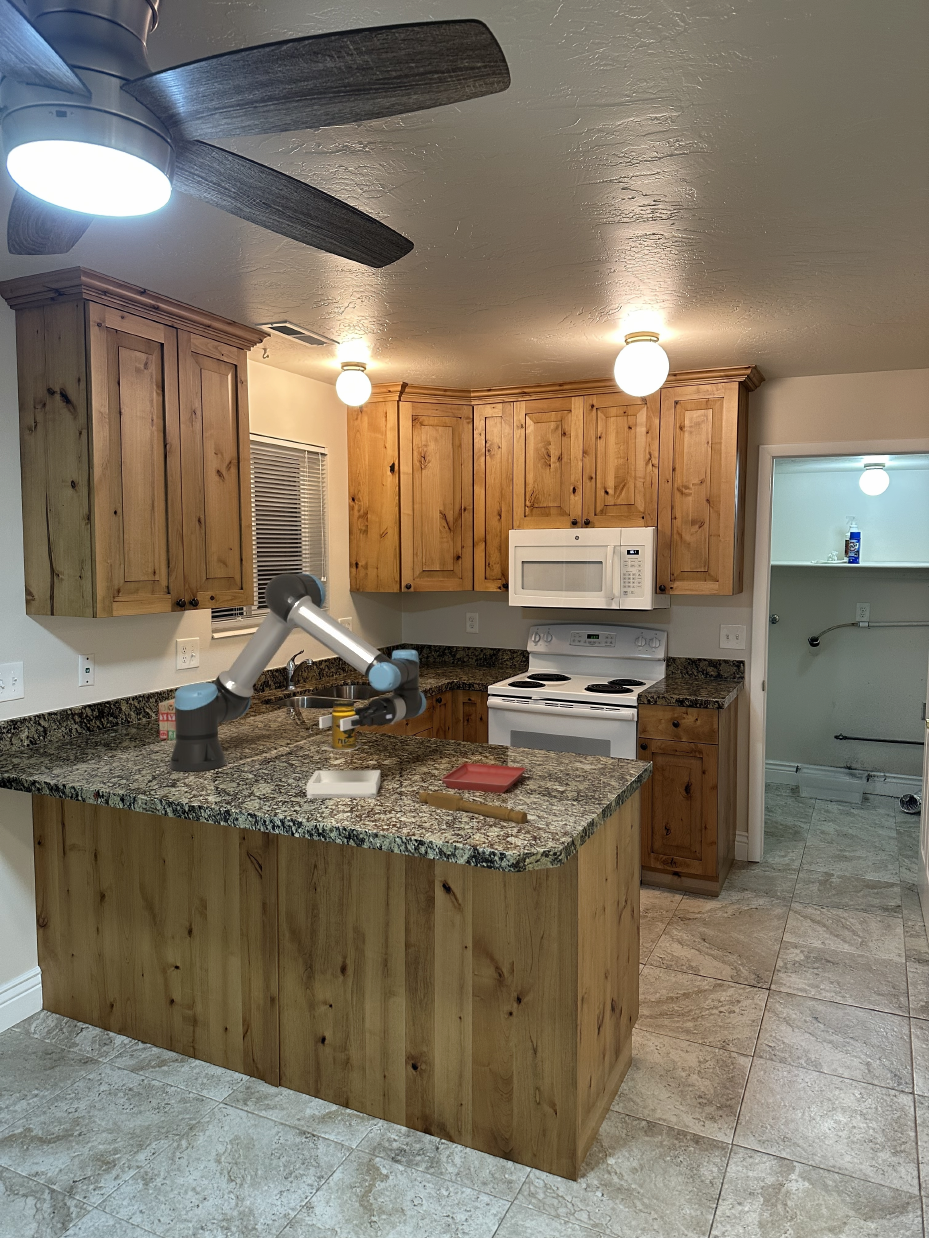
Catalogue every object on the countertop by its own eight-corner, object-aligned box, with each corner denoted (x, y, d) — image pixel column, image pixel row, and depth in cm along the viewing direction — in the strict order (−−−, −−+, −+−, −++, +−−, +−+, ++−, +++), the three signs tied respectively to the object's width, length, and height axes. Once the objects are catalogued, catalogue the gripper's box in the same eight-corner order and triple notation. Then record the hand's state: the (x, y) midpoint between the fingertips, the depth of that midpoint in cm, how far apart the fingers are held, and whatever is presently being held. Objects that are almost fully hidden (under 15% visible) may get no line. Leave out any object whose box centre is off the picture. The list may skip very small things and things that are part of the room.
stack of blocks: (191, 727, 302) (190, 693, 302) (207, 727, 301) (206, 693, 300) (159, 738, 281) (158, 702, 281) (176, 739, 280) (175, 703, 279)
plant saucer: (507, 796, 207) (507, 783, 207) (440, 790, 213) (439, 778, 213) (527, 779, 224) (527, 767, 224) (464, 774, 230) (464, 762, 230)
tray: (307, 798, 205) (306, 784, 205) (316, 783, 219) (315, 770, 219) (376, 797, 206) (375, 783, 206) (380, 782, 220) (380, 769, 220)
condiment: (349, 751, 208) (348, 704, 207) (319, 749, 210) (318, 702, 210) (363, 745, 214) (362, 699, 214) (334, 743, 217) (333, 698, 217)
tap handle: (520, 813, 182) (416, 791, 200) (520, 826, 182) (416, 803, 201) (528, 809, 185) (424, 788, 203) (528, 823, 185) (424, 801, 203)
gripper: (414, 726, 222) (361, 742, 203) (358, 721, 232) (302, 735, 212) (414, 699, 222) (361, 712, 202) (357, 694, 232) (301, 706, 212)
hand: (331, 723), depth 207 cm, fingers closed on condiment, 6 cm apart
